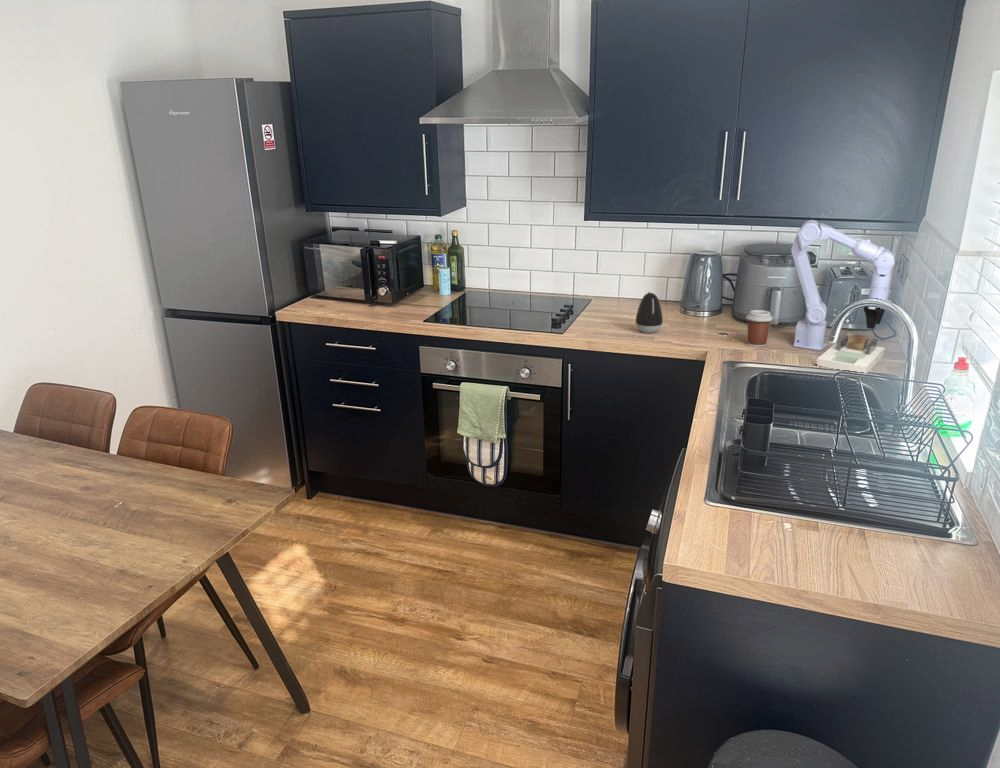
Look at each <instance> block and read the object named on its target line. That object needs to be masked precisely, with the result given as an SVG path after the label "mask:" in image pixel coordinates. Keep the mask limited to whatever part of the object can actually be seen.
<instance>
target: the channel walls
mask: <svg viewBox="0 0 1000 768" xmlns="http://www.w3.org/2000/svg"><path fill="white" fill-rule="evenodd" d="M849 337H850V336H849V335H848V334H844V335H843V336H842V337H841V338H840V339H838V340H837V341H836V342H837V347H836V350H841V349H842V348H843V347H844V346H845V345H846V344H847V343H848V340H849ZM877 345H878V338H873V339H872V340H871V341H870V342H869V343H867V347H866V353H865V354H866V355H870V354H871V353H872V352H873V351H874V350H875V349H876V346H877ZM877 347H878V346H877Z"/></svg>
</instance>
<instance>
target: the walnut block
mask: <svg viewBox="0 0 1000 768" xmlns="http://www.w3.org/2000/svg"><path fill="white" fill-rule="evenodd" d="M868 341H869V336H868V335H860V334H854V333H852V334H851V335H850V336H849V337H848V347H847V349H852V350H859V351H864V350H865V349H866V347H867V345H868Z"/></svg>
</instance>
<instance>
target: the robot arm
mask: <svg viewBox="0 0 1000 768" xmlns="http://www.w3.org/2000/svg"><path fill="white" fill-rule="evenodd" d="M819 237H820V238H819ZM818 238H819V240H820V241H824V240H829V241H830V240H831V241H833V242H835V243H837V244H839V245H842V246H845V247H846V248H848V249H850V250H851V251H852V255H853V256H856V257H858V258H860V259H861V260H864V261H866V262H868V263H869V264H874V268H873V271H872V273H871V274H872V275H871V280H870V287H869V293H868V298H878V299H882V300H886V301H889V302H891V303H892V300H890V299H888V297H889V292H890V291H889V290H890V285H891V280H892V276H893V275H892V272H893V267H894V265H895V263H896V262H895V256H894V253H893V252H892V251H891V250H889V249H887V248H885V247H884V246H879V245H876V244H875V243H872V242H871V240H870V239H869V238H866V239H864V238H861V239H857V240H856V239H855V238H853V237H851V236H850V235H847V234H845V233H843V232H842V231H840V230H837V229H836V228H835V227H832V226H831V225H828V224H826V223H822V222H820V223H819V221H817V220H814V219H809V220H807V221H805V222H804V223H803V224H802V225H801V227H800V228H799V229H798V231H797V233H796V235H795V238H794V241H793V243H792V246H791V249H790V250H791V251H790V252H791V255H792V259H793V262H794V266H795V269H796V270H795V271H796V273H797V276H798V278H799V283H800V286H801V290H802V293H803V297H804V301H805V306H806V313H805V317H806V318H804V320H799V321H797V323H796V327H795V333H794V342H793V347H795V348H802V349H808V350H815V351H819V352H820V351H822V350H823V349H825V348H826V347H827V345H828V344H827V343H825V335H826V329H827V320H826V317H827V313H828V312H827V310H828V308H827V306H826V304H825V303H824V302H823V300H822V298H821V295H820V293H819V289H818V287H817V283H816V280H815V276H814V273H813V272H814V271H813V268H812V265H811V263H810V259H809V255H808V252H807V251H808V249H809V248H810V246H811V244H813V243H814V242H815V241H816V240H817V239H818ZM863 311H864V314H865V315H864V316H865V318H866V319H865V321H866V328H867V329H871V330H874V329H875V327H876V326H877V325H880V324H881V322H882V319H883V317H884V314H885V312H886V310H883V309H880V308H876V307H869V306H864V307H863Z"/></svg>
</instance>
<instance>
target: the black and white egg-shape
mask: <svg viewBox="0 0 1000 768" xmlns="http://www.w3.org/2000/svg"><path fill="white" fill-rule="evenodd" d="M663 320H664V319H663V312H662V307H661V301H660V300H659V298H658V296H657V294H655V293H653V292H647V293H645V294H644V295H643V297H642V298H641V300H640V302H639V305H638V308H637V312H636V316H635V323H636V328H637V329H638V331H640V332H641V333H643V332H644V334H655V333H657V332H658V331H659V330H660V329H661V327H662V325H663V323H664V322H663Z"/></svg>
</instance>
